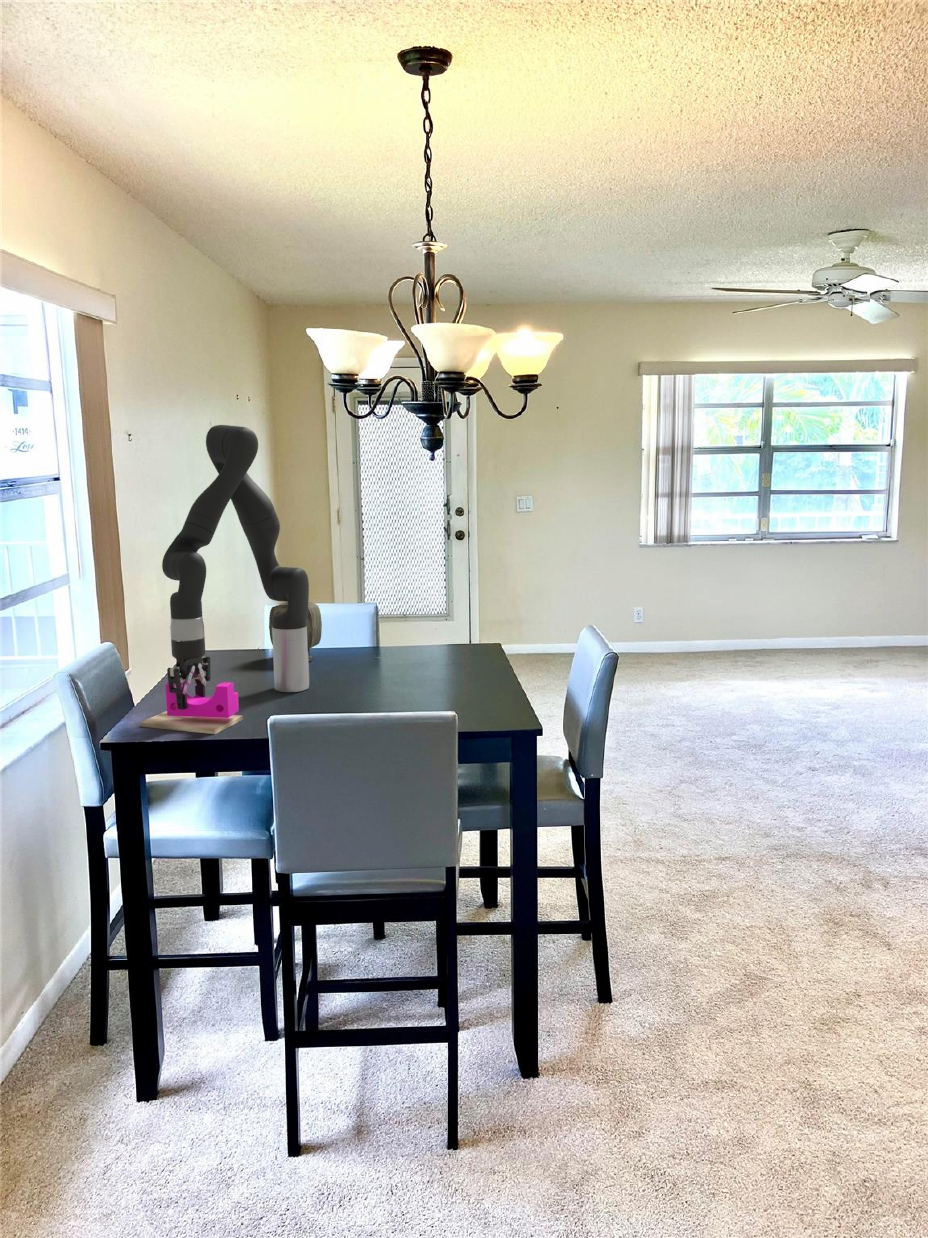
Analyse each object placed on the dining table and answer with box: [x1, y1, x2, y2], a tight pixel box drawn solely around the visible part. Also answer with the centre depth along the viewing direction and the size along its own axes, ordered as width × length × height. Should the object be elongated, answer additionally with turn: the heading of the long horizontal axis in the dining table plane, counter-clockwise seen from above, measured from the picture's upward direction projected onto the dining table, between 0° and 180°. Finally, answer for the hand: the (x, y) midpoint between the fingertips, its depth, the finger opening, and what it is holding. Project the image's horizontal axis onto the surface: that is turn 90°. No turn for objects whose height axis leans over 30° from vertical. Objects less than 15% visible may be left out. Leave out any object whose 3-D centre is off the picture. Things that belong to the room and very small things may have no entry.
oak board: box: [139, 710, 244, 735], centre depth 210 cm, size 12×20×1 cm, turn 73°
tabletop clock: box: [268, 601, 323, 662], centre depth 276 cm, size 14×9×25 cm, turn 77°
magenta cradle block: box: [164, 681, 240, 718], centre depth 208 cm, size 15×6×8 cm, turn 82°
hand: (191, 704), depth 209 cm, fingers closed on magenta cradle block, 7 cm apart
